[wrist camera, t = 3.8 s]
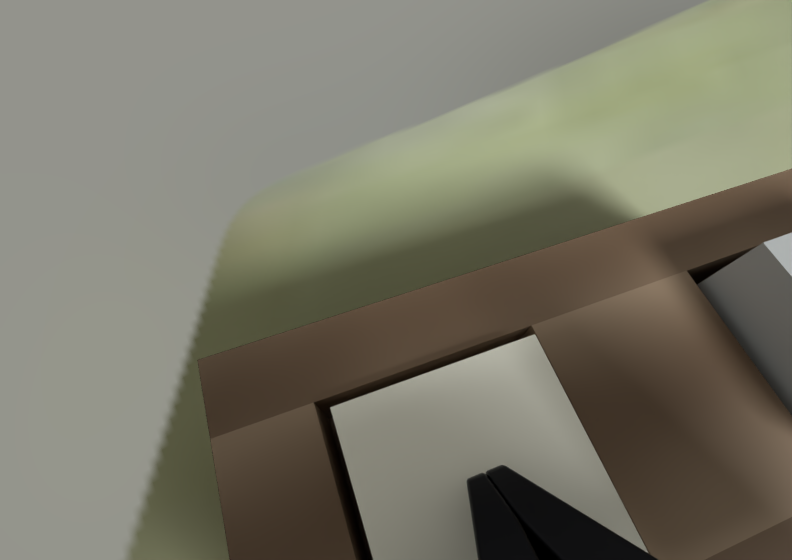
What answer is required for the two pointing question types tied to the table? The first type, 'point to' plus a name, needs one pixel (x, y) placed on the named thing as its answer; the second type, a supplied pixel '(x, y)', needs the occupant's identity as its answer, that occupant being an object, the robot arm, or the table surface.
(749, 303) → the grey button
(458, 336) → the brown rectangular box
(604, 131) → the table surface
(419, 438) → the cream button
